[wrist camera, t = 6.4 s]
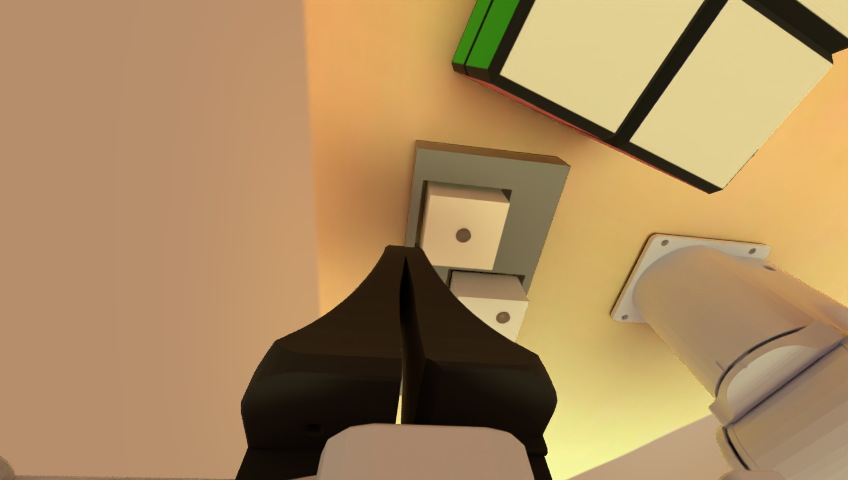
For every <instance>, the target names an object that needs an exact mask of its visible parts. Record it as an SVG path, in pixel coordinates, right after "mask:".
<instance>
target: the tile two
mask: <svg viewBox="0 0 848 480" xmlns="http://www.w3.org/2000/svg"><path fill="white" fill-rule="evenodd" d="M449 289H450V291H451V292H452V293H453V294H454V295H455V296H456V298H457V299H458V300H459V301H460V302H461V303H463V304H464V305H465V306H466V307H467V308H468V309H469V310H470V311H471V312H472V313H473V314H475V315H476V316H477V317H478V318H480V319H481V320H482V321H483V322H485V323H486V324H487V325H489V326H490V327H491V328H493V329H494V330H496V331H497V332H499V333H500V334H502V335H503V336H505V337H506V338H508V339H510V340H511V341H513V342H516V339H517V336H518V333H519V330H520V327H521V324H522V322H523V319H524V316H525V313H526V310H527V307H528V305H529V300H528V298H527V296H526V294H525V292H524V290H523V287H522V285H521V283H520V281H519V279H518V277H517V276H509V275H497V274H484V273H472V272H460V271H453V273H452V278H451V283H450V288H449Z"/></svg>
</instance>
